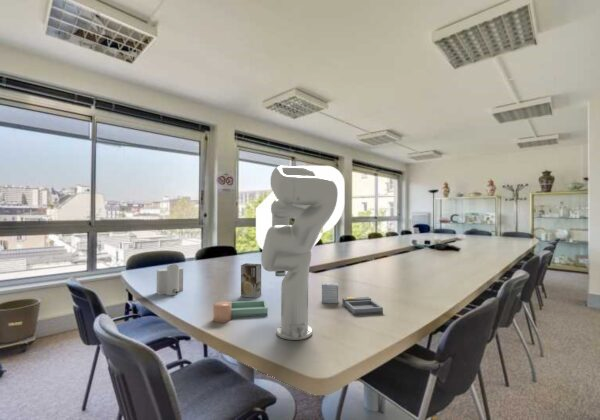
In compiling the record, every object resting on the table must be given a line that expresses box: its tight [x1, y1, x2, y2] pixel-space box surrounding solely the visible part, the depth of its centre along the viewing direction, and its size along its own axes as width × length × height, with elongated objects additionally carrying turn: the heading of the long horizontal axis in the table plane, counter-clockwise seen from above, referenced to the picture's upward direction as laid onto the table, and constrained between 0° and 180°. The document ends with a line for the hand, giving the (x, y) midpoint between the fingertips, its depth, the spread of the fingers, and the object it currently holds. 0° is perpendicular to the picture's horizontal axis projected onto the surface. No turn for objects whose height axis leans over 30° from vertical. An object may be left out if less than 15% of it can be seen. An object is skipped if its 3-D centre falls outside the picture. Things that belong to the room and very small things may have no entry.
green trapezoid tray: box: [230, 299, 269, 319], centre depth 124 cm, size 11×16×3 cm
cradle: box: [341, 296, 384, 316], centre depth 129 cm, size 14×13×3 cm
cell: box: [274, 271, 287, 277], centre depth 126 cm, size 4×4×8 cm
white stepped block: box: [156, 263, 184, 296], centre depth 152 cm, size 12×14×15 cm
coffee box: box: [240, 262, 262, 299], centre depth 149 cm, size 9×6×16 cm
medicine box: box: [321, 282, 339, 304], centre depth 139 cm, size 8×4×9 cm, turn 84°
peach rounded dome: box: [212, 301, 232, 324], centre depth 115 cm, size 7×7×6 cm
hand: (280, 270), depth 126 cm, fingers closed on cell, 4 cm apart
